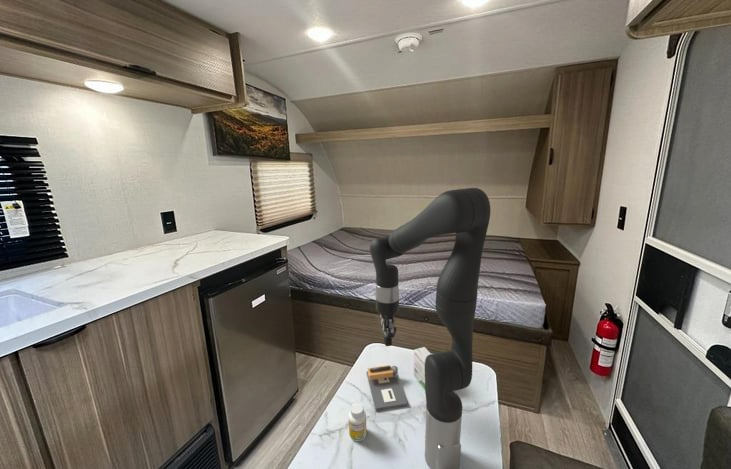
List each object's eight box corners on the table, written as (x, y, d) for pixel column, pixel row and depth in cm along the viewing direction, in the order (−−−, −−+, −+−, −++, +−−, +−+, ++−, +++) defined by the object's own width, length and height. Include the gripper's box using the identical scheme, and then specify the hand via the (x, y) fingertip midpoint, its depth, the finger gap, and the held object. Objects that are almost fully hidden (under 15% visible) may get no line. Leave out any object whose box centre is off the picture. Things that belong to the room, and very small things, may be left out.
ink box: (436, 386, 106) (437, 359, 103) (424, 390, 104) (425, 363, 102) (423, 371, 114) (424, 345, 111) (412, 375, 112) (413, 349, 109)
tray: (407, 406, 98) (407, 399, 97) (375, 411, 96) (375, 404, 96) (393, 370, 115) (393, 364, 115) (366, 373, 114) (366, 368, 113)
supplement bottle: (355, 423, 92) (354, 398, 90) (370, 431, 89) (369, 405, 87) (345, 436, 88) (344, 410, 85) (360, 445, 85) (359, 418, 83)
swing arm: (399, 375, 108) (399, 368, 107) (369, 380, 106) (369, 372, 105) (396, 368, 112) (396, 361, 111) (367, 372, 110) (367, 365, 109)
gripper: (404, 305, 86) (404, 355, 90) (393, 287, 99) (393, 331, 103) (380, 308, 85) (381, 358, 89) (371, 289, 98) (373, 334, 102)
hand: (387, 343), depth 96 cm, fingers closed
